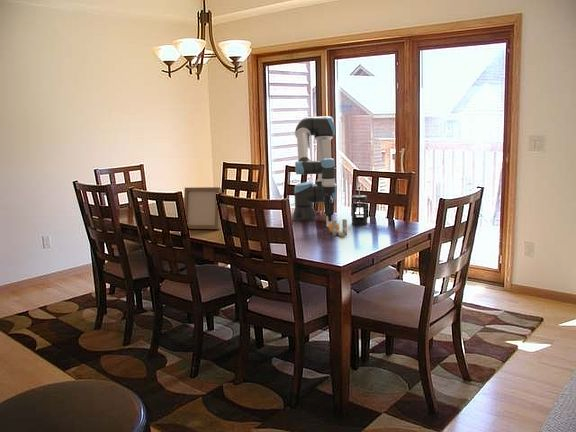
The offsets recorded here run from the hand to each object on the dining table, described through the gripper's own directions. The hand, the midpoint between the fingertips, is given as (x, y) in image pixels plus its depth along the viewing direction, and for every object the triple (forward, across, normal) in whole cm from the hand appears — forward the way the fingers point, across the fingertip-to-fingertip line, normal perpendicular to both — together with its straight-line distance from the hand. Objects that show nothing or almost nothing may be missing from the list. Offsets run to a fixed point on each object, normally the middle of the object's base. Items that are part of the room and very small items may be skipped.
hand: (329, 226), depth 319 cm
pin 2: (+2, +16, +3) cm, 16 cm away
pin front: (+1, +13, 0) cm, 13 cm away
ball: (-1, +9, 0) cm, 9 cm away
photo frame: (+2, -38, -66) cm, 76 cm away
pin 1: (+2, +16, -3) cm, 16 cm away
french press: (+2, -8, +23) cm, 24 cm away
